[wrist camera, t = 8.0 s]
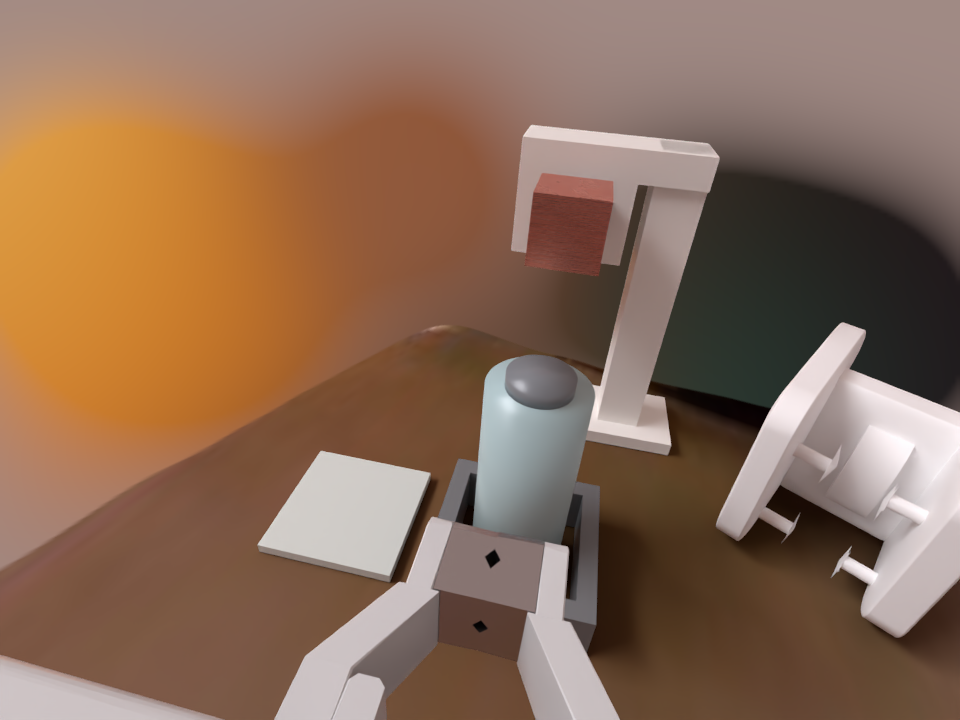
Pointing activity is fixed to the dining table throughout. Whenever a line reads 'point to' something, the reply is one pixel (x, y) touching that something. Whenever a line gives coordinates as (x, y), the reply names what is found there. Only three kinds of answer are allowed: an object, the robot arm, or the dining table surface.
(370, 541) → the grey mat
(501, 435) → the pale blue bottle
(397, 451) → the dining table surface
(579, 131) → the stand
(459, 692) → the dining table surface
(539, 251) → the bolt
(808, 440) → the cable organizer
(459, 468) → the socket collar
